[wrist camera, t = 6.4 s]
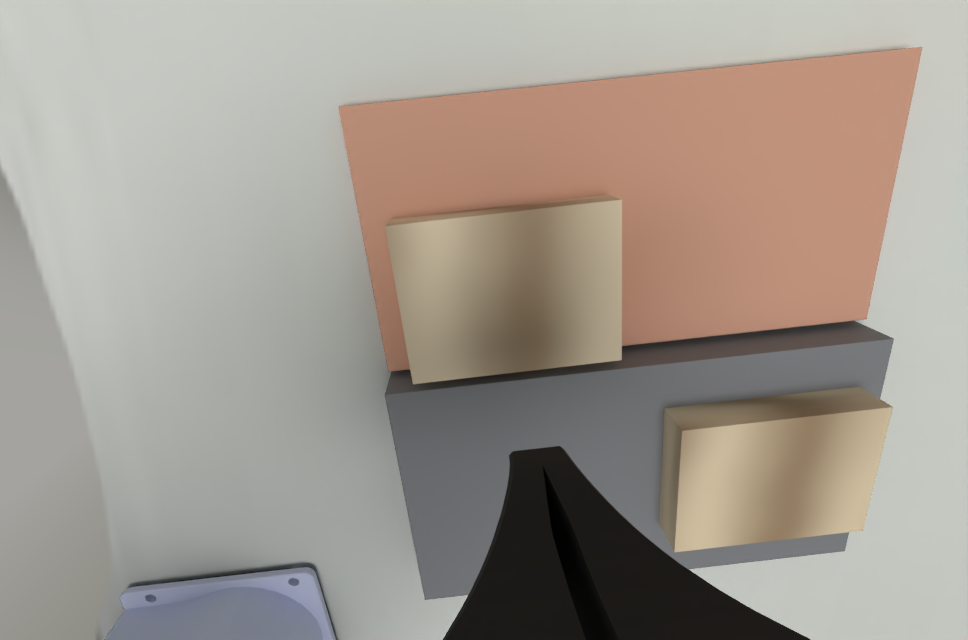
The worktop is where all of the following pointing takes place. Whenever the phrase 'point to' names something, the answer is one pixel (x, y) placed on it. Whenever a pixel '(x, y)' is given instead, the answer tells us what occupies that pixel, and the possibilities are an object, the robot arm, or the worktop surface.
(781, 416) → the outer tile
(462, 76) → the worktop surface
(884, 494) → the worktop surface
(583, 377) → the grey board
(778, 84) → the mat
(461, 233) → the inner tile
